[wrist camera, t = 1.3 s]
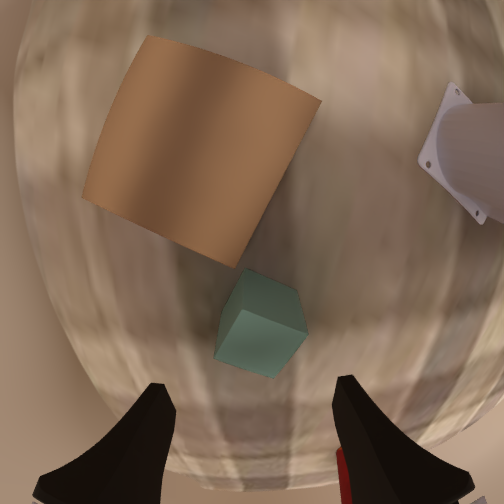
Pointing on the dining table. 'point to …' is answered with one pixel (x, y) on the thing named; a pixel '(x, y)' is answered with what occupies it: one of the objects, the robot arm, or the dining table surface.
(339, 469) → the paper cup
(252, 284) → the teal block
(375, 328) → the dining table surface
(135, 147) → the walnut plinth
